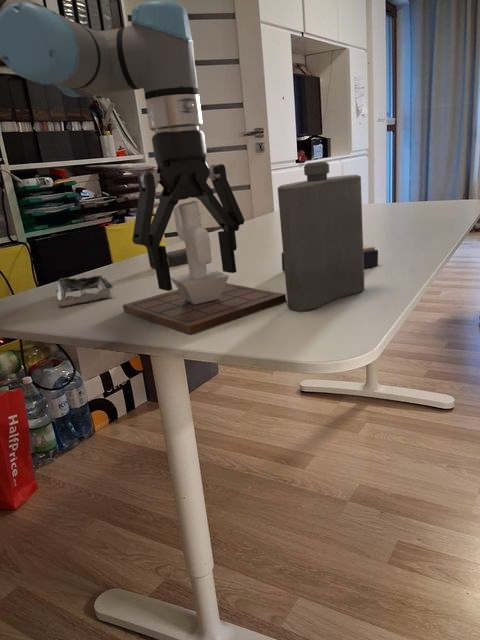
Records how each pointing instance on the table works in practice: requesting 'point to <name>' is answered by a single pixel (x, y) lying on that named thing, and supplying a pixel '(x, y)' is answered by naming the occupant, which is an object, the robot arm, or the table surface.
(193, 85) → the robot arm
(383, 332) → the table surface
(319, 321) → the table surface
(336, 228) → the flask
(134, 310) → the board
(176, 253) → the usb drive
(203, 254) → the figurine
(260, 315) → the table surface
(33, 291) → the table surface
